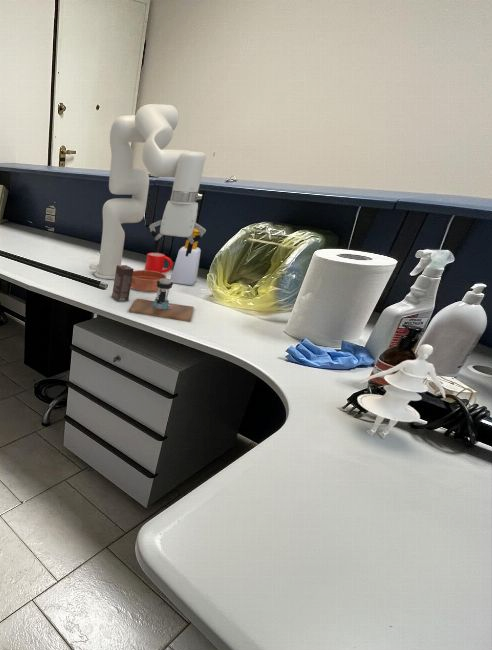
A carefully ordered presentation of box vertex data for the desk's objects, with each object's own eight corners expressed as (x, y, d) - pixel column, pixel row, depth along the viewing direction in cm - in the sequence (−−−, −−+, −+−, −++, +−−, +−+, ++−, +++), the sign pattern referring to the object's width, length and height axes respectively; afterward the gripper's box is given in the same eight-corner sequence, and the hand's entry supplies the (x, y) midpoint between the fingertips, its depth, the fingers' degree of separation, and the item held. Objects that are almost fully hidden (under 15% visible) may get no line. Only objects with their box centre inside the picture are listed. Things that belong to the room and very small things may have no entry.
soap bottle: (167, 285, 170) (178, 229, 158) (173, 277, 180) (184, 224, 169) (191, 289, 166) (204, 231, 154) (196, 280, 176) (209, 226, 165)
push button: (173, 307, 144) (179, 279, 139) (170, 312, 140) (176, 283, 134) (153, 304, 146) (159, 276, 141) (150, 308, 142) (156, 280, 137)
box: (129, 301, 152) (134, 268, 146) (118, 301, 151) (122, 269, 145) (122, 296, 157) (126, 264, 151) (111, 296, 156) (115, 265, 150)
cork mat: (128, 312, 141) (129, 309, 141) (136, 300, 152) (137, 298, 152) (189, 321, 134) (190, 319, 134) (193, 308, 145) (193, 306, 145)
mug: (168, 276, 182) (171, 258, 178) (142, 272, 187) (145, 254, 183) (173, 272, 187) (176, 255, 183) (147, 268, 193) (150, 251, 189)
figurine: (406, 428, 84) (461, 339, 74) (425, 456, 76) (489, 360, 66) (331, 413, 88) (373, 327, 78) (342, 438, 80) (390, 346, 70)
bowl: (123, 289, 164) (125, 277, 162) (131, 280, 176) (132, 268, 173) (161, 294, 159) (163, 282, 156) (166, 284, 170) (168, 272, 168)
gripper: (214, 198, 125) (200, 254, 134) (156, 194, 131) (147, 248, 140) (213, 200, 119) (198, 259, 128) (152, 196, 126) (143, 253, 135)
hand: (171, 253), depth 134 cm, fingers open, 9 cm apart
